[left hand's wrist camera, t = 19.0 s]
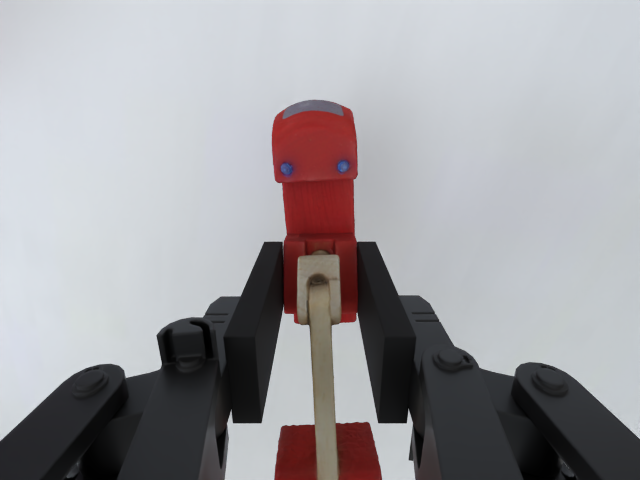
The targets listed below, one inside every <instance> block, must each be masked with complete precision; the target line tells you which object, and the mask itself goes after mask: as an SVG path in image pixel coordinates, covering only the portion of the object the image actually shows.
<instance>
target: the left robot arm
mask: <svg viewBox="0 0 640 480" xmlns="http://www.w3.org/2000/svg"><path fill="white" fill-rule="evenodd" d="M357 263H358V264H357V272H358V310H357V312H358V318H359V323H360V328H361V334H362V339H363V344H364V350H365V355H366V360H367V366H368V371H369V376H370V381H371V387H372V392H373V397H374V403H375V408H376V413H377V419H378V423H407V416H408V408H409V411H410V414H411V417H412V421H413V429H412V437H411V445H410V453H409V460H411V461H413V460H414V470H415V480H640V439H639V438H638V437H637V436H636V435H635V434H634V433H633V432H631V431H630V430H629V429H628V428H627V427H626V426H625V425H624V424H623V423H622V422H621V421H620V420H619V419H618V418H616V417H615V416H614V415H613V414H612V413H611V412H610V411H609V410H608V409H607V408H606V407H605V406H604V405H602V404H601V403H600V402H599V401H598V400H597V399H596V398H595V397H594V396H593V395H592V394H591V393H590V392H588V391H587V390H586V389H585V388H584V387H583V386H582V385H581V384H580V383H579V382H578V381H577V380H575V379H574V378H573V377H571V376H570V375H569V374H567V373H566V372H564V371H561V370H559V369H557V368H555V367H553V366H550V365H546V364H542V363H532V362H529V363H525V364H521V365H520V366H519V367H518V368H517V369H516V371H515V376H514V377H513V376H509V375H504V374H500V373H495V372H491V371H487V370H484V369H481V368H479V366H478V364H477V362H476V361H475V359H474V358H473V357H472V356H471V355H470V354H468V353H467V352H466V351H464V350H462V349H459V348H457V347H455V346H454V345H453V343H452V342H451V340H450V338H449V336H448V335H447V333H446V331H445V329H444V328H443V326H442V324H441V322H439V319H438V317H437V316H436V314H435V312H434V310H433V309H432V307H431V305H430V303H428V302H427V301H426V300H424V299H423V298H422V297H420V296H399V295H398V293H397V291H396V288H395V286H394V284H393V281H392V279H391V277H390V275H389V272H388V270H387V268H386V265H385V263H384V261H383V258H382V256H381V254H380V251H379V249H378V247H377V244H376V242H357ZM283 290H284V275H283V242H264V244H263V246H262V248H261V251H260V253H259V255H258V258H257V260H256V262H255V265H254V267H253V269H252V272H251V274H250V276H249V279H248V281H247V283H246V286H245V288H244V290H243V292H242V295H241V297H220V298H218V299H217V300H216V301H214V302H213V303H212V304H210V306H209V308H208V310H207V311H206V313H205V315H204V317H203V318H194V317H191V318H186V319H181V320H178V321H175V322H173V323H170V324H169V325H167V326H166V327H164V328H163V329H161V331H160V332H159V333H158V334H157V340H158V345H159V350H160V356H161V361H162V366H161V369H160V370H158V371H154V372H151V373H147V374H142V375H138V376H133V377H129V378H126V377H125V373H124V370H123V369H122V368H121V367H120V366H118V365H113V364H102V365H96V366H93V367H89V368H86V369H84V370H82V371H80V372H78V373H76V374H74V375H72V376H71V377H70V378H68V379H67V380H66V381H64V382H63V383H62V384H61V385H60V386H59V387H58V388H57V389H56V390H55V391H53V392H52V393H51V394H50V395H49V396H48V397H47V398H46V399H45V400H44V401H43V402H42V403H41V404H40V405H39V406H37V407H36V408H35V409H34V410H33V411H32V412H31V413H30V414H29V415H28V416H27V417H26V418H25V419H24V420H23V421H21V422H20V423H19V424H18V425H17V426H16V427H15V428H14V429H13V430H12V431H11V432H10V433H9V434H8V435H7V436H5V437H4V438H3V439H2V440H1V441H0V480H225V470H226V460H227V450H228V440H229V437H228V429H227V422H228V418H229V415H230V412H231V410H232V419H233V423H262V417H263V412H264V407H265V401H266V396H267V391H268V386H269V380H270V375H271V370H272V364H273V359H274V354H275V348H276V343H277V338H278V332H279V327H280V322H281V317H282V311H283V306H284V297H283ZM566 465H567V466H568V467H567V466H566Z"/></svg>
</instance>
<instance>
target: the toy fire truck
mask: <svg viewBox="0 0 640 480" xmlns="http://www.w3.org/2000/svg"><path fill="white" fill-rule="evenodd" d="M272 153H273V165H274V175H275V181H276V182H278V183H282V186H283V200H284V210H285V221H286V229H287V236H286V238H285V241H284V246H283V275H284V290H283V297H284V313H285V314H294V322H295V323H297V324H301V325H309V326H310V339H311V359H312V376H313V397H314V416H315V425H299V426H296V425H292V426H287V425H285V426H282V427H281V432H280V438H279V441H278V452H277V460H276V466H275V478H274V480H382V476H381V468H380V465H379V461H378V455H377V451H376V447H375V441H374V440H373V434H372V431H371V427H370V424H369V423H368V422H364V423H359V422H355V423H345V424H341V423H336V422H335V400H334V376H333V357H332V325H335V324H339V323H343V322H345V323H346V322H348V323H349V322H355V321H356V313H357V310H358V272H357V264H358V263H357V241H356V238H355V229H354V228H355V223H354V221H355V220H354V181H353V179H356V177H357V175H358V172H357V139H356V131H355V124H354V118H353V113H352V111H351V110H350V109H348V108H346V107H344V106H341V105H339V104H336V103H334V102H330V101H324V100H308V101H302V102H299V103H296V104H294V105H291V106H289V107H288V108H286V109H285V110H283V111H282V112H280V113H279V114H277V116H276V117H275V120H274V123H273V131H272Z"/></svg>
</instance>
